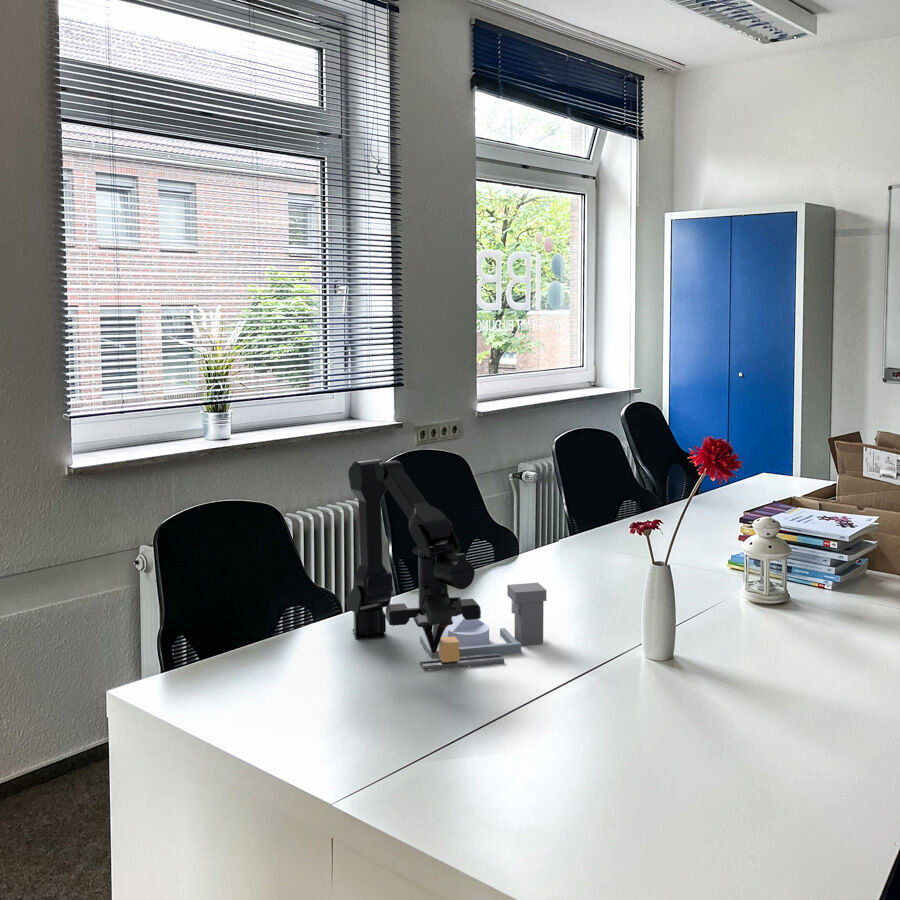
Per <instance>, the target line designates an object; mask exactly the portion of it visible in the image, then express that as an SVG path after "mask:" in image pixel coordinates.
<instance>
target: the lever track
mask: <svg viewBox="0 0 900 900" xmlns="http://www.w3.org/2000/svg"><path fill="white" fill-rule="evenodd" d="M503 664H505V658H504V657H503V656H502V655H501V654H500V653H493V654H482V655H470V656H459V661H453V662H442V661H441V659H440V658H437V659H430V658H427V659H425V658H424V659H419V666H420V665H421V666H422V667H421V666H420V667H421V670H422V669H423V670H427V671H430V670H429V669H438V670H444V669H443V668H449V669H456V668H455V667H460V668H469V667H468V666H471V667H479V666H480V665H482V666H493V665H503ZM423 670H422V671H423Z"/></svg>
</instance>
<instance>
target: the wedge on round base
mask: <svg viewBox="0 0 900 900" xmlns="http://www.w3.org/2000/svg"><path fill="white" fill-rule="evenodd" d="M452 621H453V624H452V625H448V626H447V627H446V628H445V630H446V631H447V637H456V638H457V640H458V641H459V647H468V646H480V645H490V626H489V625H488V624H486V623H484V622H483V621H481V620H480V619H473V620H466V619H465V618H464V617H463V616H462V614H461V615H458V616H453V617H452Z"/></svg>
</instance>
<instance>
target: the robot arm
mask: <svg viewBox="0 0 900 900" xmlns="http://www.w3.org/2000/svg"><path fill="white" fill-rule="evenodd" d="M347 474H348V481H349V486H350V490H351V492H352V493H353V494H354V496H355V498H356V499H357V503H358V525H359V528H358V529H359V559H360V561H359V562H360V563H359V564H360V565H359V567H358V569H357V570H356V572H355V574H354V576H353V583H352V586H353V587H352V589H351V590H350V592H349V593H348V595H347V596H346V597H345V606H346V609H347V610H348V611H350V612H352V613H353V628H352V632H354V633H353V635H354V637H356V638H355V639H356V640H366V639H365V638H369V639H378V638H385V637H386V634H385V633H386V631H387V627H386V626H387V625H386V623H388V624H389V626H392V627H393V626H403V625H404V626H405V625H407V624H408V623H409V622H410V619H412V618H413V621H414V623H415V624H416V626H417V627H418V628H422V630H423V632H424V635H426V638H427V641H428V644H429V646H430V649H431V652H432V653H436V651H437V649H439V642H440V639H441V638H442V636H443V634H444V632H445V630H446V629H445V628H446V627H447V626H448V625H452V624H453V621H452V617H453V616H458V615H461V614H462V616H463V617H464V618H465V619H466V620H473V619H478V620H480V619H482V618H481V617H482V614H481V613H482V610H481V606H480V605H479V604H478V603H477V601H476V600H475V599H473V598H463V599H461V596H455V597H450V595H449V589H448V586H450V587H452V588H455V589H456V590H465V589H467V588H468V587H470V586H471V584H472V583H473V581H474V579H475V575H476V572H475V568H474V566H473V564H472V563H471V562H470V561H468V560H467V554H466V553H462V552H461V551H462V547H461V544H460V542H461V541H460V540H459V538H458V536H457V535H456V533H455V531H454V528H453V525H452V523H451V521H450V519H449V518H448V517H447V516H446V515H445V514H444V513H443V512H442V511H441V510H440V509H439V508H436V507H435V506H432V505H430V504H429V503H428V502H427V501H426V500H425V498H424V497H423V495H422V494H421V493H420V491H419V490H418V488H417V487H416V485H415V484H414V482H413V481H412V480H411V478H410V477H409V476H408V474H407V473H406V471H405V470H404V466H403V464H402V462H400V461H398V460H389V461H384V460H383V459H381V458H378V459H370V460H361V461H360V460H359V461H354V462H353V463H352V464H351V466H350V467H349V469H348V473H347ZM387 491H388V492H389V493H390V495H391V496H392V497H393V499H394V500H395V502H396V503H397V505H399V507H400V509H401V510H402V512H403V513H404V514H405V516H406V518H407V519H408V531H409V534H410V536H411V538H412V539H413V541H414V543H415V544H416V545H417V546H415V547H414V548H413V549H412V553H413V554H416V555H418V556H417V557H418V559H417V560H418V564H417V565H418V567H417V568H418V607H412V608H411V607H409V608H408V607H407V605H406V603H405V602H404V603H391V600H392V595H393V591H394V585H393V575H392V573H391V572H388V570H387V569H386V567H385V565H384V560H383V559H384V558H383V527H382V523H383V522H382V520H383V519H382V500H383V497H384V495H385V493H386V492H387ZM460 552H461V553H460ZM384 608H385V612H384ZM386 621H387V622H386Z"/></svg>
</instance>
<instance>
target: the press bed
mask: <svg viewBox="0 0 900 900" xmlns="http://www.w3.org/2000/svg"><path fill="white" fill-rule="evenodd" d="M506 588H507V593H506V595H507V597H508V598H510V599H511V614H513V615H514V636H513V635H512V634H511V633H510V632H509V631H508V629H507V628H506V627H503V628H499V635H500V637H501V638H502V639H503V641H504V643H495V644H493V643H492V644H488V645H480V646H468V647H459V656H470V655H482V654H493V653H500V654H501V656H502V655H514V654H515V655H516V654H521V653H522V647H523V646H533V645H535V646H536V645H544V602H547V588H545V587H544V586H543V585H542V584H540V583H539V582H530V583H529V582H527V583H514V584H507V585H506ZM419 642H420V644H421V643H422V644H421V646H422V645H423V646H422V647H423V649H424V648H425V649H424V651H425V650H426V651H425V652H426V654H427V653H428V654H427V655H429V656H430V657H429V656H428V657H429V659H430V658H431V659H437V658H440V657H439V648H437V651H436V653H432V652H431V649H430V646H429V644H428V641H427V638H426V635H425V634H420V636H419Z"/></svg>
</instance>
